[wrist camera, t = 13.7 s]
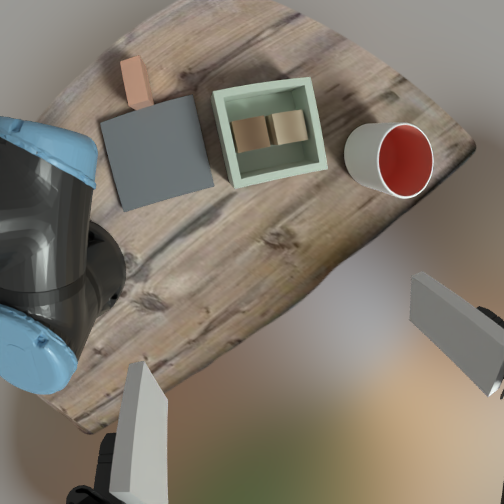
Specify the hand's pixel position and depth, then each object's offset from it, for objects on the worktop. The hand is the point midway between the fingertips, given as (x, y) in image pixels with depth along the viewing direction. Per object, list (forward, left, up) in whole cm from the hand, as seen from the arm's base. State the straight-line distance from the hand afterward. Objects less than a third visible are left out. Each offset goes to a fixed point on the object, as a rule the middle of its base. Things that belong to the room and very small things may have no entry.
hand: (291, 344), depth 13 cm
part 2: (+10, +9, -31) cm, 33 cm away
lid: (-7, +12, -32) cm, 35 cm away
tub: (+7, +9, -31) cm, 33 cm away
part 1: (+5, +9, -31) cm, 32 cm away
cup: (+23, +3, -32) cm, 39 cm away
